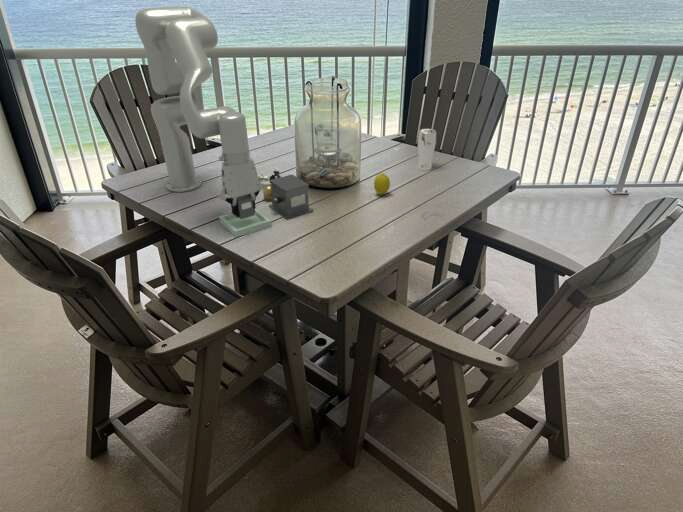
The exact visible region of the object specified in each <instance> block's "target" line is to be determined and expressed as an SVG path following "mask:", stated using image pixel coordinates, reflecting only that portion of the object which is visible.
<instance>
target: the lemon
mask: <svg viewBox="0 0 683 512" xmlns="http://www.w3.org/2000/svg"><path fill="white" fill-rule="evenodd" d="M373 182H374V183H373V189H374V191H375V192H376V193H378V194H379V195H382V196H383V195H384V194H386V193H387V192H388V191H389V190H390V187H391V182H390V178H389V176H388V175H387V174H385V173H384V172H383V173H380V174H378V175H376V177H375V179H374V181H373Z"/></svg>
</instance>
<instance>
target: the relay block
mask: <svg viewBox="0 0 683 512" xmlns="http://www.w3.org/2000/svg"><path fill="white" fill-rule="evenodd" d="M237 205H238V208H239V215H240V217H239V218H240V219H244V218H248V217H251V216H254V208H253V199H252V197H251V196H249V195H244V196H241V197H237Z"/></svg>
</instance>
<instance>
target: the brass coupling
mask: <svg viewBox="0 0 683 512" xmlns="http://www.w3.org/2000/svg"><path fill="white" fill-rule="evenodd" d="M262 194H263V200H264V202H266V203H272V201H271V200H272V190H271V183H266V184H264V185H263V189H262Z"/></svg>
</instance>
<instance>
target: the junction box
mask: <svg viewBox="0 0 683 512" xmlns="http://www.w3.org/2000/svg"><path fill="white" fill-rule="evenodd" d="M268 182H269V184H271V190H272V200H271V201H272V202H271V204H268V207H269V208H270V209H271V210H273V211H275V212H276V213H277V214H278V215H280V216H281V217H282V218H283V219H285V220H291V219H293V218H297V217H301V216H303V215H307V214H310V213H314V209H312V208H311V207H309V206H310V205H309V187H310V185H309V183H307V182H306V181H304V180H302V179H300V178H299V177H297V176H295V175H293V174H288V175H285V176H281V177H280V178H276V179H272V180H269V181H268Z"/></svg>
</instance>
